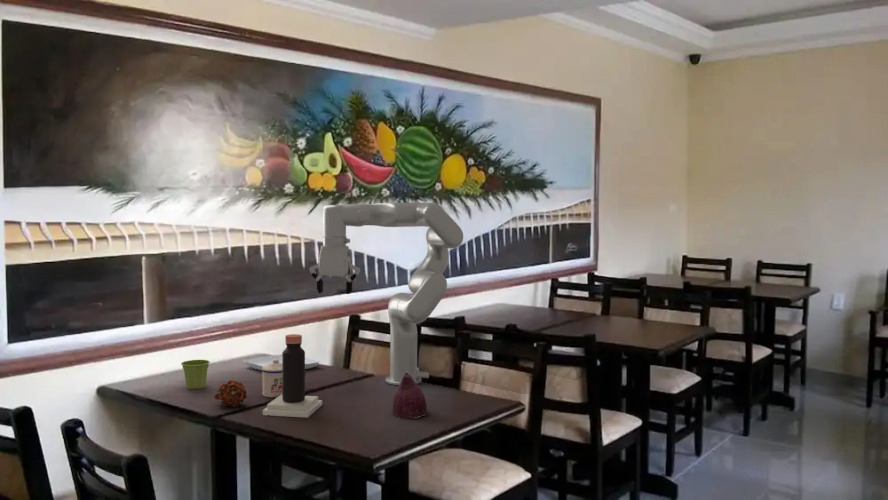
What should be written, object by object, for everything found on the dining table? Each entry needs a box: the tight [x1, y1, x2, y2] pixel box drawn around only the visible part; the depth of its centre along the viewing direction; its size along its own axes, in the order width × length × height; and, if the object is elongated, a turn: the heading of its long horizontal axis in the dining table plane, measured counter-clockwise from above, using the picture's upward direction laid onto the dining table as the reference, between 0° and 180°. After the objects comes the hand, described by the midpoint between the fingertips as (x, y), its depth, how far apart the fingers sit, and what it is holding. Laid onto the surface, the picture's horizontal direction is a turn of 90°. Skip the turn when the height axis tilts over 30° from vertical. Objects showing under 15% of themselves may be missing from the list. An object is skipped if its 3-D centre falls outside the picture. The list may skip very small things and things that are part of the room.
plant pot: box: [180, 359, 211, 390], centre depth 262 cm, size 9×9×9 cm
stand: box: [262, 395, 323, 419], centre depth 235 cm, size 14×14×3 cm
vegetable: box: [391, 372, 428, 419], centre depth 230 cm, size 10×10×15 cm
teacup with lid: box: [261, 359, 282, 399], centre depth 254 cm, size 12×9×12 cm
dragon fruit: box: [213, 379, 248, 408], centre depth 240 cm, size 8×8×12 cm
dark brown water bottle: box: [281, 333, 306, 403], centre depth 235 cm, size 7×7×20 cm
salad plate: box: [243, 353, 320, 372], centre depth 292 cm, size 21×21×3 cm
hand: (334, 293), depth 256 cm, fingers open, 9 cm apart
